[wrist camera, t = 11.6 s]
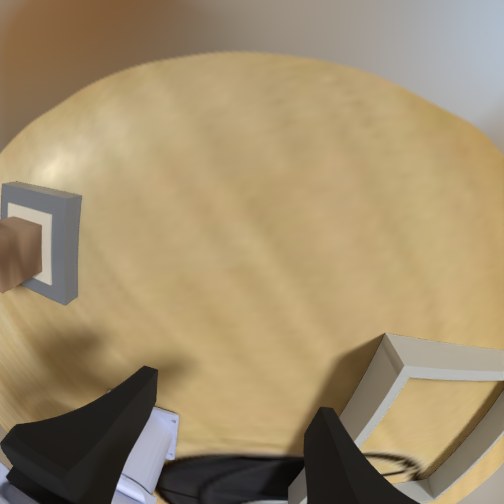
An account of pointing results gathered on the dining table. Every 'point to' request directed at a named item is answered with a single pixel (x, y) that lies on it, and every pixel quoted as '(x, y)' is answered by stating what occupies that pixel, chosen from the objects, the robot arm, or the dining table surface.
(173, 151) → the dining table surface
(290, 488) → the grey corral
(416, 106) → the dining table surface
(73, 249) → the plate
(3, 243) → the walnut block
